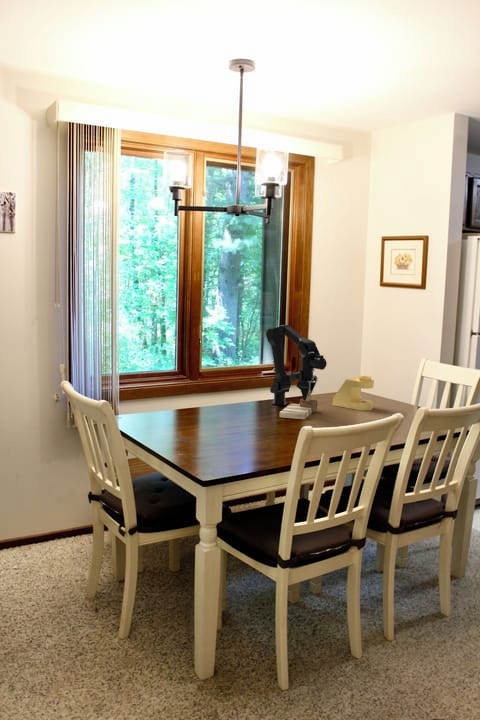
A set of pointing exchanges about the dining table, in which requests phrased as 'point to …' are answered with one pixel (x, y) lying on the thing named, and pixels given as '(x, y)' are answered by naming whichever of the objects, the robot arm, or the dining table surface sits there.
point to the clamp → (354, 393)
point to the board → (296, 411)
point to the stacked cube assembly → (309, 402)
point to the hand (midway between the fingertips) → (306, 398)
